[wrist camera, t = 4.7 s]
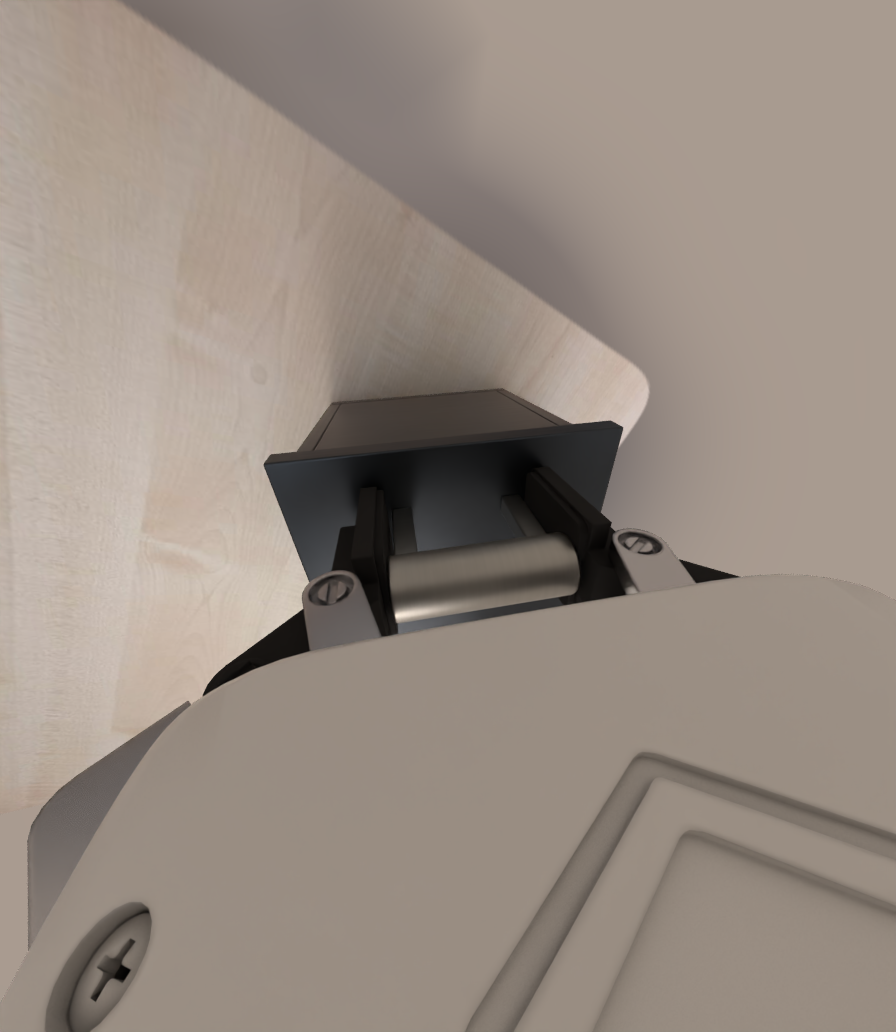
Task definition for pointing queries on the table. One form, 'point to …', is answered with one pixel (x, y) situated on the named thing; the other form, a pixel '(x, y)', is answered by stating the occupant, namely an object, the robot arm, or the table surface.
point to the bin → (425, 418)
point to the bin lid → (451, 516)
